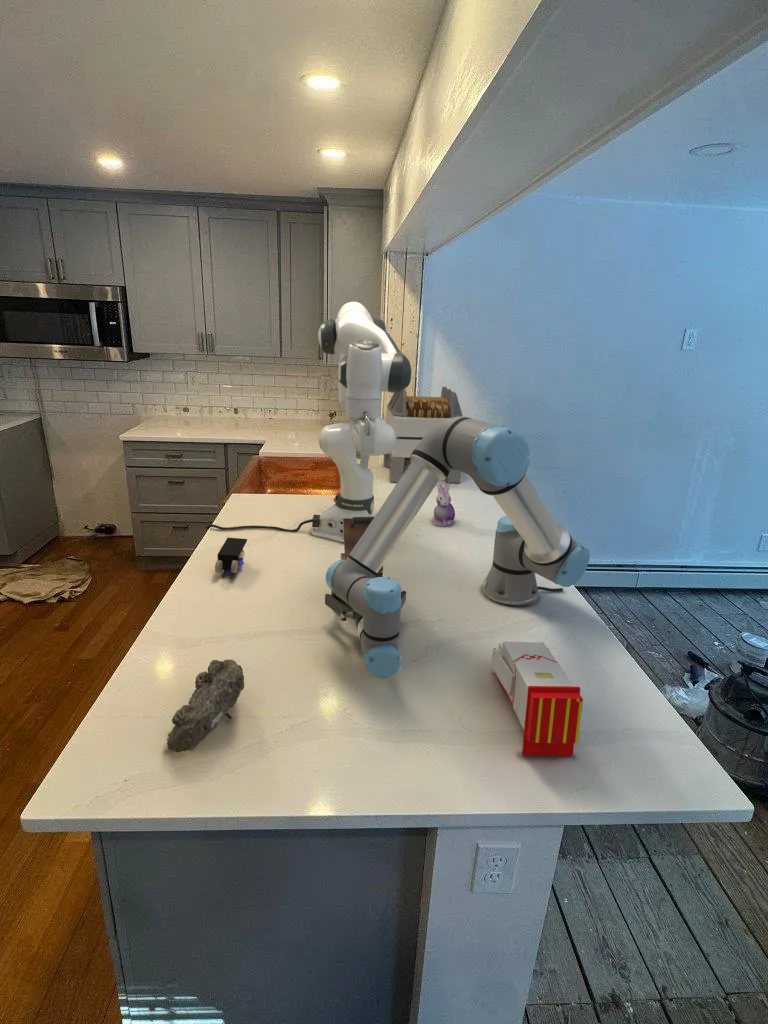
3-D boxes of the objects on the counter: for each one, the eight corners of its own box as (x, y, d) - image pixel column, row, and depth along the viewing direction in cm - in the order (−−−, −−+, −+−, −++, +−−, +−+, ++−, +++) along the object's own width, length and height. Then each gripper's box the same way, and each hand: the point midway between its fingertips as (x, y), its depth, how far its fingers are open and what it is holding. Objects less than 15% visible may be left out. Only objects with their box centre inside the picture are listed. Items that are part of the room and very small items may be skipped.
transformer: (382, 463, 289) (386, 382, 275) (445, 464, 293) (451, 384, 279) (390, 482, 257) (394, 392, 243) (460, 483, 261) (468, 394, 247)
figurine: (440, 528, 206) (443, 489, 201) (425, 519, 214) (428, 481, 209) (461, 525, 210) (465, 486, 205) (446, 516, 219) (449, 478, 214)
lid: (343, 519, 147) (346, 511, 139) (379, 518, 149) (384, 510, 141) (345, 572, 143) (348, 567, 136) (382, 571, 145) (388, 566, 137)
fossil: (192, 660, 117) (244, 628, 112) (224, 691, 120) (276, 661, 115) (142, 746, 98) (202, 712, 93) (182, 779, 101) (242, 748, 96)
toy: (540, 624, 127) (592, 694, 97) (535, 679, 129) (584, 763, 100) (486, 623, 126) (522, 693, 97) (482, 678, 129) (516, 762, 100)
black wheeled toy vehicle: (238, 584, 162) (249, 557, 175) (236, 562, 158) (247, 536, 172) (215, 584, 161) (227, 556, 175) (212, 561, 158) (225, 535, 171)
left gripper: (382, 416, 132) (380, 474, 136) (370, 402, 151) (368, 453, 155) (355, 416, 131) (354, 474, 135) (346, 402, 149) (345, 453, 154)
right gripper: (318, 643, 127) (313, 597, 147) (426, 637, 131) (408, 594, 151) (318, 614, 125) (313, 571, 144) (428, 609, 129) (409, 568, 148)
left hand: (361, 463), depth 145 cm, fingers open, 8 cm apart
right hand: (362, 583), depth 148 cm, fingers open, 13 cm apart
